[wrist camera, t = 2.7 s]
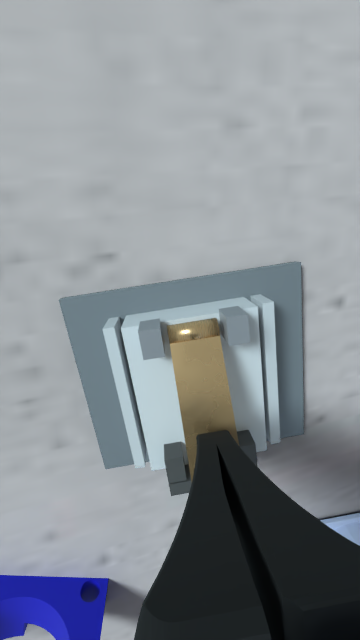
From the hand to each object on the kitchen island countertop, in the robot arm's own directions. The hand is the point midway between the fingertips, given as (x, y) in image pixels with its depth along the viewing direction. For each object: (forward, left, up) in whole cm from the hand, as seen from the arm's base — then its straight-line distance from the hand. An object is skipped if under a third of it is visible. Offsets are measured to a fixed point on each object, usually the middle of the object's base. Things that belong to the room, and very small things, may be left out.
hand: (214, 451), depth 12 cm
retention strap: (0, -1, -2) cm, 2 cm away
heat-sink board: (0, 0, -7) cm, 7 cm away
